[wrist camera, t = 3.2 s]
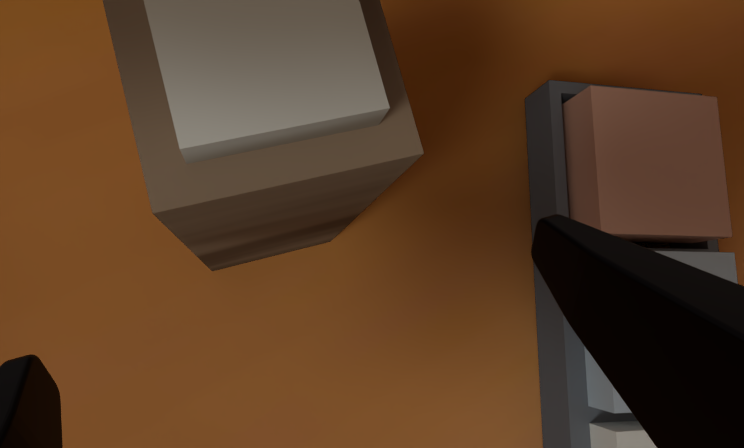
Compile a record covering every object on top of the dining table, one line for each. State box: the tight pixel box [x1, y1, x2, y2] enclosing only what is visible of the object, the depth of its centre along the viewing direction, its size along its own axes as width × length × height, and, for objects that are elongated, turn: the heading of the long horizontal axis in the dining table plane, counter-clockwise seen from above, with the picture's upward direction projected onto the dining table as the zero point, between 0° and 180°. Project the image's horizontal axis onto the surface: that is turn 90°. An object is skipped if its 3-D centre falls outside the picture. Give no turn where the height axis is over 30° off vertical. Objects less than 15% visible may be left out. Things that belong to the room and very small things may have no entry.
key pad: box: [525, 80, 738, 448], centre depth 21 cm, size 20×7×4 cm, turn 0°
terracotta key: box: [562, 85, 732, 243], centre depth 21 cm, size 6×6×2 cm
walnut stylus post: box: [103, 0, 424, 271], centre depth 14 cm, size 4×4×13 cm
